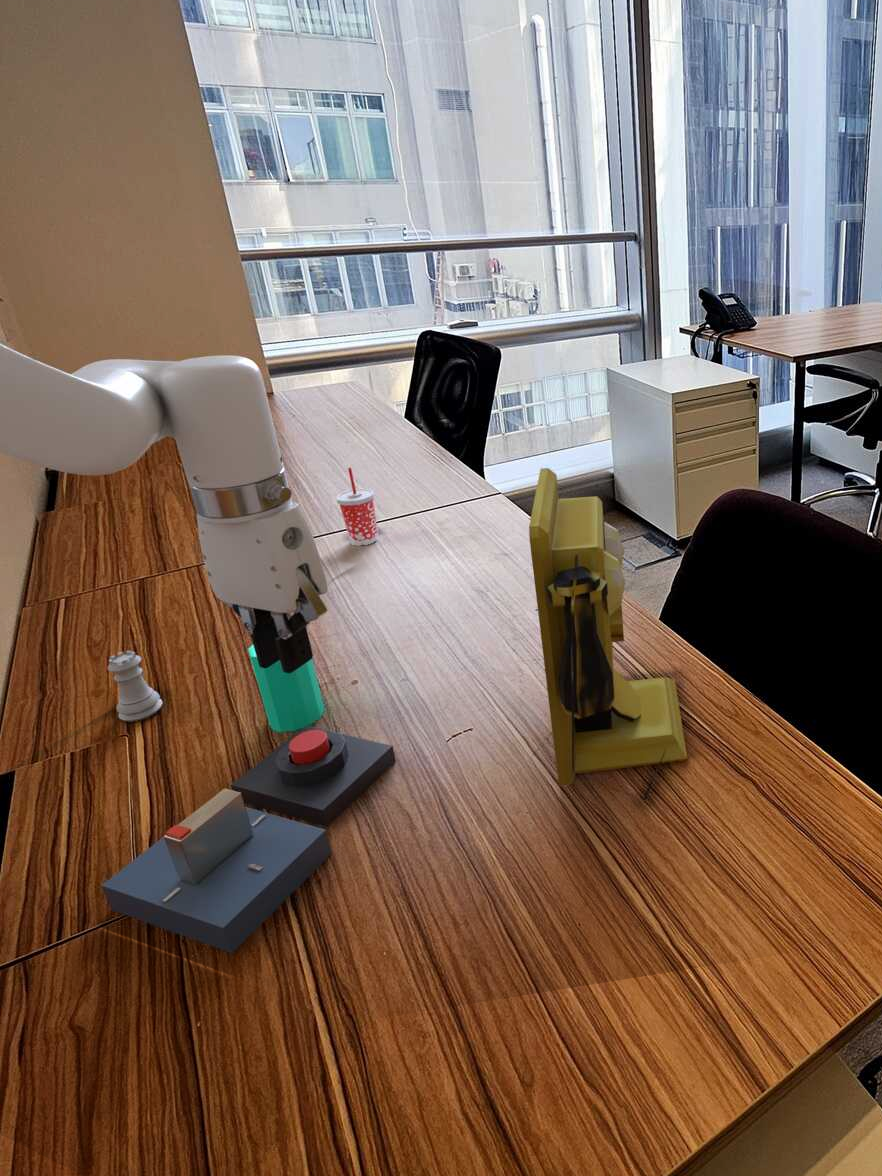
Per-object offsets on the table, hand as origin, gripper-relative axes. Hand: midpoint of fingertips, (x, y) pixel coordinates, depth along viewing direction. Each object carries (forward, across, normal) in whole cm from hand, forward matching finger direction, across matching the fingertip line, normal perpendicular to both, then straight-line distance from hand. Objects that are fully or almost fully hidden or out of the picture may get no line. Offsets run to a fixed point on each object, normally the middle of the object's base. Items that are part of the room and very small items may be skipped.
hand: (286, 661), depth 78 cm
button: (+12, 0, 0) cm, 12 cm away
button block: (+15, 0, 0) cm, 15 cm away
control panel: (+15, -2, +13) cm, 20 cm away
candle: (+15, +11, -8) cm, 21 cm away
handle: (+12, -2, +13) cm, 18 cm away
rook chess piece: (+15, +30, -3) cm, 34 cm away
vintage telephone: (+15, -28, -17) cm, 36 cm away
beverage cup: (+15, +40, -52) cm, 67 cm away
